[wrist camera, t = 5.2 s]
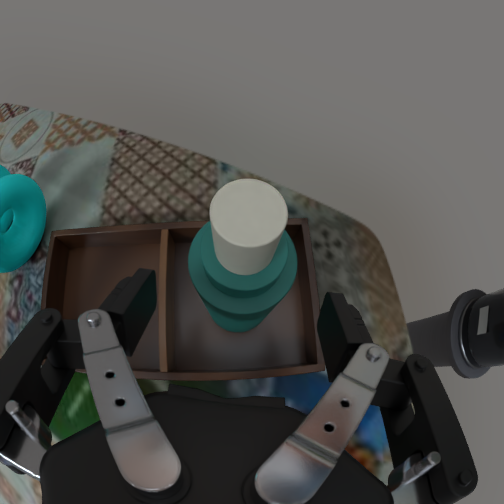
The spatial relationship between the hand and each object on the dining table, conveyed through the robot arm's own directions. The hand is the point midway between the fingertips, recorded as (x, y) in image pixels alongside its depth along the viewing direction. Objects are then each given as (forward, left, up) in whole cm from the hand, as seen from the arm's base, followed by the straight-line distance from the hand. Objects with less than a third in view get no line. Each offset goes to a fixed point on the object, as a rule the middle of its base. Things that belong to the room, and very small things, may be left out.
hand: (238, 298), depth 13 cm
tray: (+5, -2, -11) cm, 12 cm away
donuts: (+25, -10, -11) cm, 29 cm away
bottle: (0, -2, -10) cm, 10 cm away
